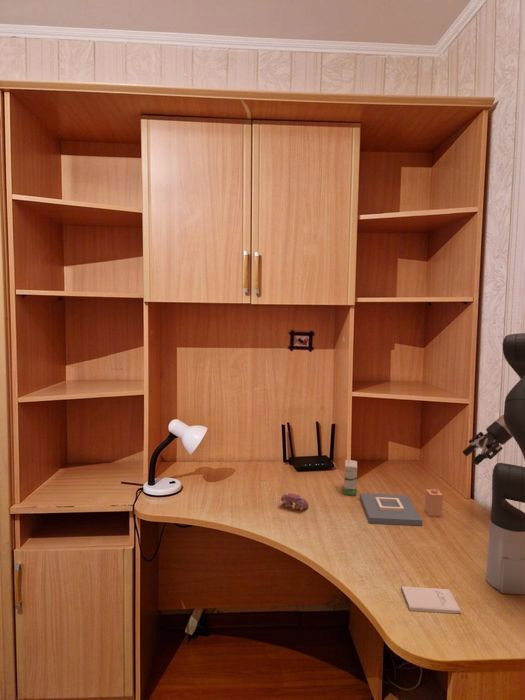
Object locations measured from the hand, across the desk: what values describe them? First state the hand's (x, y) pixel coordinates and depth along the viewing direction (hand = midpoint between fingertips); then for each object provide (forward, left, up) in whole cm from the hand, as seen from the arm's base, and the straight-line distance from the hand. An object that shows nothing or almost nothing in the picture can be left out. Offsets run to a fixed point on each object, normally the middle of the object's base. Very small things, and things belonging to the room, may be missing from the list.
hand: (469, 458), depth 154 cm
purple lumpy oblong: (-1, +62, -21) cm, 66 cm away
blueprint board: (0, +28, -21) cm, 35 cm away
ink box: (+16, +40, -21) cm, 48 cm away
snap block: (0, +12, -21) cm, 24 cm away
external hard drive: (-49, +29, -22) cm, 61 cm away
